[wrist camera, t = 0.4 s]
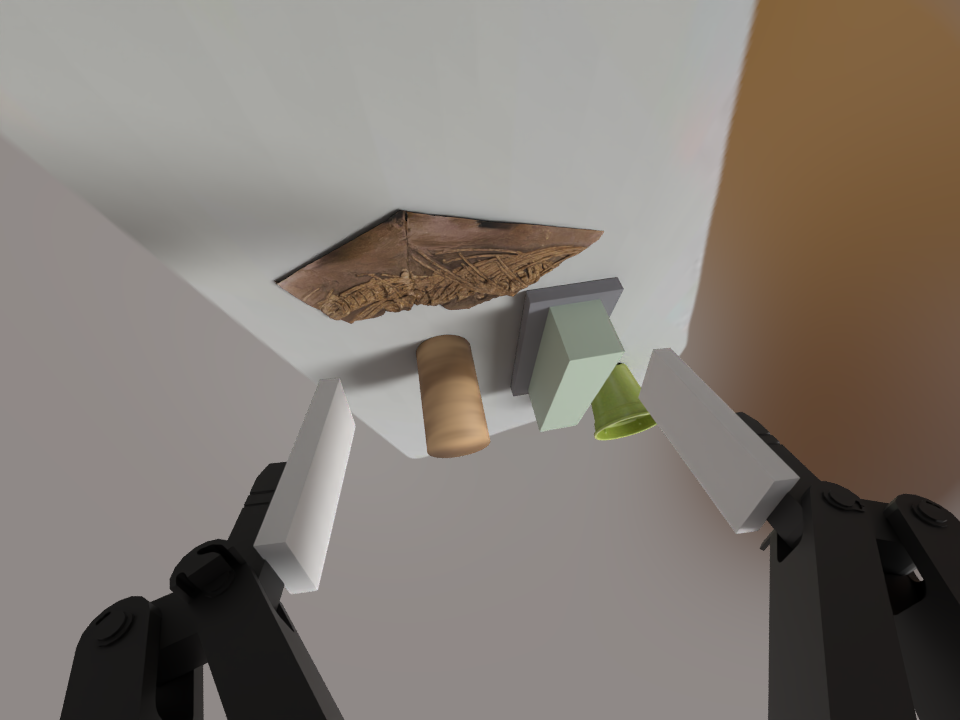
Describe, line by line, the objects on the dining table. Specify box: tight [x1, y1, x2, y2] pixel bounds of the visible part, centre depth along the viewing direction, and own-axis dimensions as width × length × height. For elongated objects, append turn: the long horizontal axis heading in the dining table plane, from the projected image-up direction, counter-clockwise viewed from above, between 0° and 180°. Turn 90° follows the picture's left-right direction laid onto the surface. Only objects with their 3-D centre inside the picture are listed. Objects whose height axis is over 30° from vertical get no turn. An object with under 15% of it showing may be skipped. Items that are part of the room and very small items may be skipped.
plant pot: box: [591, 364, 657, 440], centre depth 50 cm, size 9×9×9 cm
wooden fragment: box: [274, 210, 604, 324], centre depth 29 cm, size 26×11×1 cm, turn 89°
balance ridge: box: [511, 277, 625, 432], centre depth 40 cm, size 20×9×8 cm, turn 1°
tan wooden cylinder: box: [416, 335, 490, 458], centre depth 36 cm, size 6×6×11 cm
